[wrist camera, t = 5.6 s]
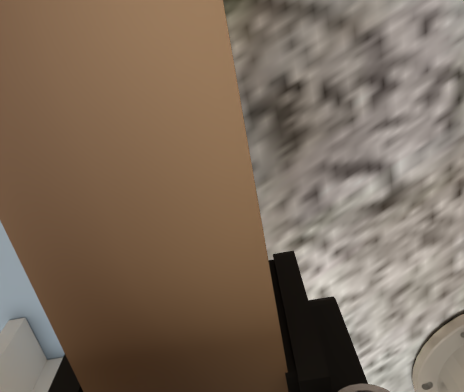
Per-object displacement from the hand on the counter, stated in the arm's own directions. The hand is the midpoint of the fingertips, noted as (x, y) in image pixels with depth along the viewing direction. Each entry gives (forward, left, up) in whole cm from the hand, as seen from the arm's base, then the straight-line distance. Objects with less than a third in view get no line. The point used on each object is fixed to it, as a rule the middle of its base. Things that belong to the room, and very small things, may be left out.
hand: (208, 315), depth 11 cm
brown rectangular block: (0, 0, -2) cm, 2 cm away
